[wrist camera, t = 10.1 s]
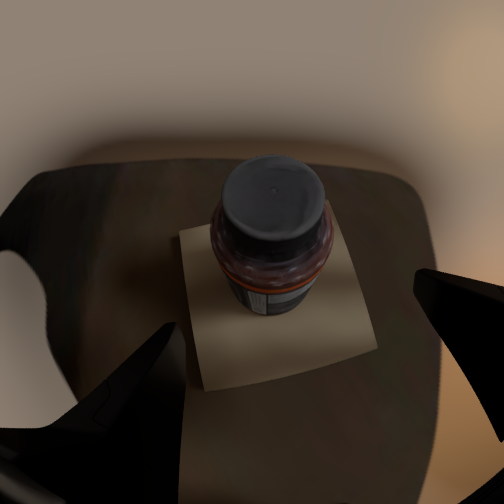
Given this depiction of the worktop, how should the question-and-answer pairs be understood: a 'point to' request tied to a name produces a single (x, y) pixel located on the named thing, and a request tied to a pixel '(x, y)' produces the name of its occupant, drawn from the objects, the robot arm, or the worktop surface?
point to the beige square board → (272, 320)
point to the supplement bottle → (272, 232)
